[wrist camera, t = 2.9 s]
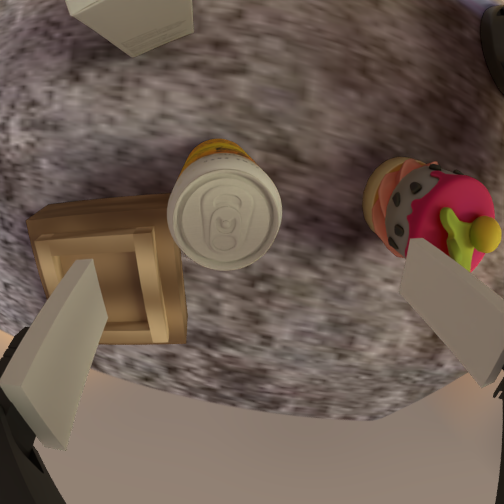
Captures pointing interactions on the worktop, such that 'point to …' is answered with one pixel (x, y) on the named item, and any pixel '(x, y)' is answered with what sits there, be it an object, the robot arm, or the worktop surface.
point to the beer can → (223, 207)
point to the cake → (431, 210)
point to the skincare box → (135, 21)
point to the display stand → (118, 263)
